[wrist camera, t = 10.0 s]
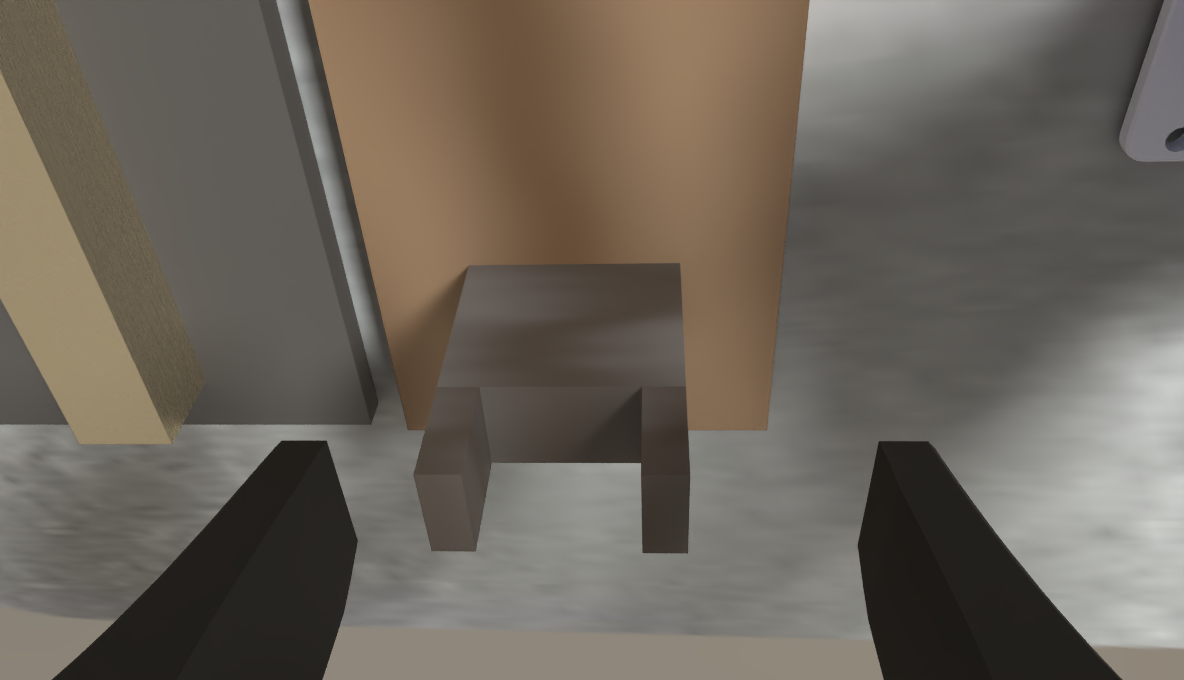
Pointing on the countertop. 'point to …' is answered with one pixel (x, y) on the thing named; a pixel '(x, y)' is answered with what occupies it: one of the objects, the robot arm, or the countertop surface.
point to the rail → (82, 249)
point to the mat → (219, 211)
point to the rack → (570, 228)
